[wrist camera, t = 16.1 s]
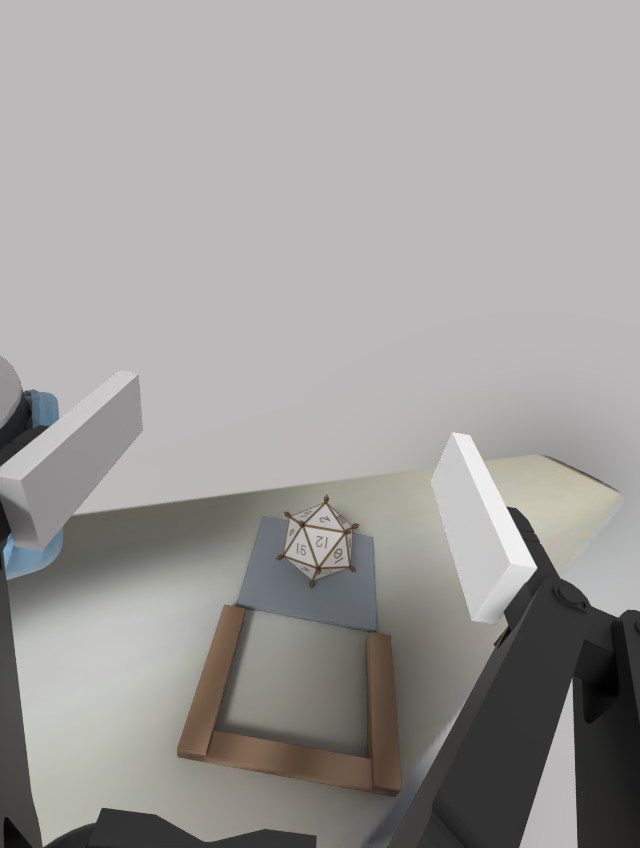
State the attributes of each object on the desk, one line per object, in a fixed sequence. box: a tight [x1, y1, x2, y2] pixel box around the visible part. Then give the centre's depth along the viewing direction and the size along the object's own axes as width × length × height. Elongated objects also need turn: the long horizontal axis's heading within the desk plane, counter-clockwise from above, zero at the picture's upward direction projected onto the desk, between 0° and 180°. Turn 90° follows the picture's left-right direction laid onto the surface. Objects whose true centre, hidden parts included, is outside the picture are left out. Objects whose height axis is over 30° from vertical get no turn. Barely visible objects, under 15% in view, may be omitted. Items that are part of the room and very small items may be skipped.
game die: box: [275, 495, 359, 589], centre depth 41 cm, size 9×8×10 cm
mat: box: [237, 516, 377, 632], centre depth 43 cm, size 14×12×1 cm
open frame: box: [177, 605, 402, 797], centre depth 32 cm, size 16×11×2 cm
